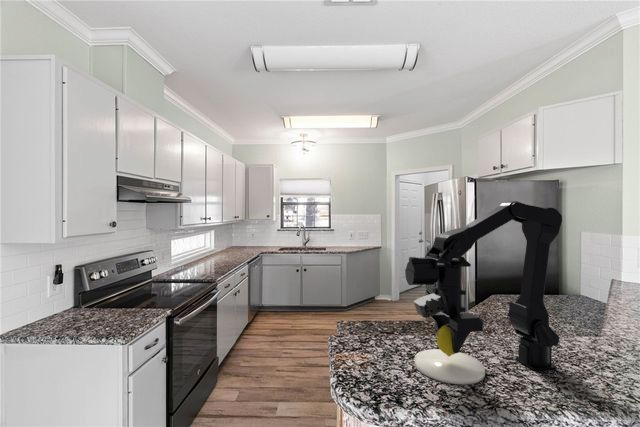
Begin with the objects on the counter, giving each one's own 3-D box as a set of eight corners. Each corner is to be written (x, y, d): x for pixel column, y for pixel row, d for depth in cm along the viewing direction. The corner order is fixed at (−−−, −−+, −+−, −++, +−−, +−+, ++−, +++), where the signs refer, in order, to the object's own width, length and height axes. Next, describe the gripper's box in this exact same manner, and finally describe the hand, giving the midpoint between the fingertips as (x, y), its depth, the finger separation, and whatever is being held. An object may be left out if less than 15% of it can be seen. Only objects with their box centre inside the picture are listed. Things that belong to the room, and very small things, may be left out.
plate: (460, 352, 89) (460, 347, 89) (500, 381, 73) (500, 376, 73) (404, 355, 87) (404, 350, 87) (433, 386, 71) (433, 381, 71)
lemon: (463, 362, 77) (463, 328, 77) (438, 360, 78) (438, 326, 78) (458, 352, 82) (458, 321, 82) (435, 350, 84) (435, 319, 84)
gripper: (403, 278, 88) (402, 335, 88) (437, 294, 70) (437, 367, 70) (441, 277, 90) (441, 333, 90) (485, 293, 72) (484, 364, 71)
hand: (449, 347), depth 80 cm, fingers closed on lemon, 5 cm apart
